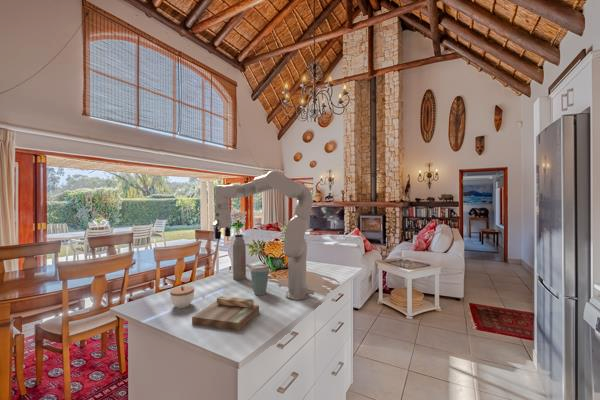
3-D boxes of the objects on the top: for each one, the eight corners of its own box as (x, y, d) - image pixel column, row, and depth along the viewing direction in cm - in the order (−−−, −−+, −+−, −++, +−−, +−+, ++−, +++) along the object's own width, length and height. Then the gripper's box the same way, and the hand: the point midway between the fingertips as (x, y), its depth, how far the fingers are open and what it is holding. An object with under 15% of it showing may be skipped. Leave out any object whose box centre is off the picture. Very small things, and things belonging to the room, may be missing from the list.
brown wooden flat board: (259, 312, 124) (259, 305, 124) (239, 330, 107) (239, 322, 107) (216, 306, 131) (216, 300, 131) (192, 323, 113) (191, 316, 113)
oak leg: (253, 305, 124) (253, 299, 123) (250, 308, 121) (250, 301, 121) (220, 301, 128) (220, 295, 128) (216, 304, 125) (216, 297, 125)
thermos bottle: (248, 277, 177) (248, 234, 177) (239, 280, 171) (239, 236, 170) (239, 275, 182) (239, 233, 181) (230, 278, 175) (230, 235, 175)
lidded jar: (199, 302, 136) (198, 284, 136) (183, 311, 126) (183, 291, 126) (181, 300, 139) (181, 282, 139) (165, 308, 129) (164, 288, 129)
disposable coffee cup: (246, 295, 146) (246, 267, 145) (255, 288, 156) (255, 262, 156) (265, 297, 143) (265, 268, 143) (272, 290, 153) (272, 263, 153)
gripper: (219, 207, 144) (219, 240, 144) (236, 206, 161) (236, 235, 161) (207, 207, 146) (207, 239, 147) (225, 206, 163) (225, 235, 163)
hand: (222, 237), depth 154 cm, fingers open, 9 cm apart
